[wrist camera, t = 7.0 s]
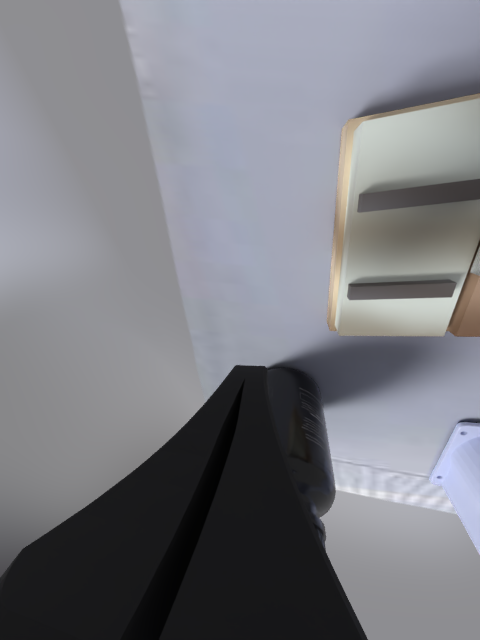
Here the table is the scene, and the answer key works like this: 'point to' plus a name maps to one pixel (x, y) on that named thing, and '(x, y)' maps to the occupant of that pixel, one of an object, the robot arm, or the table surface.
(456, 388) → the table surface
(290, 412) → the supplement bottle
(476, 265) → the bolt
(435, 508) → the table surface
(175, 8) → the table surface
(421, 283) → the lock board
